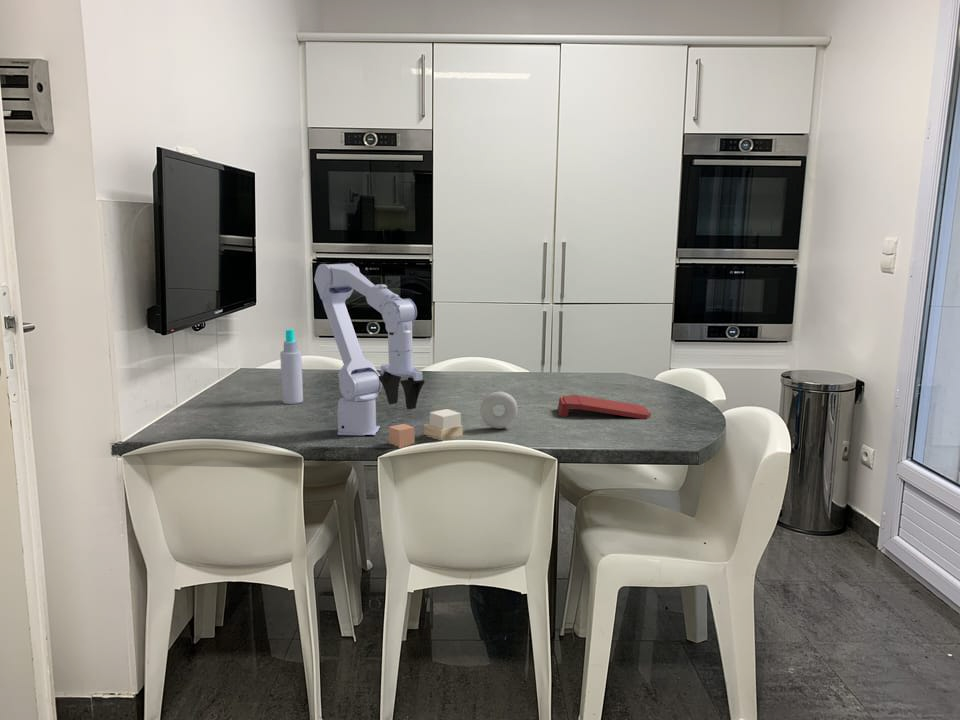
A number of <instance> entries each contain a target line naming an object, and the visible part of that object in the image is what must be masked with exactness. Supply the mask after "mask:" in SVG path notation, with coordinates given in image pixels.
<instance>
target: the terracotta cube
mask: <svg viewBox="0 0 960 720" xmlns="http://www.w3.org/2000/svg"><path fill="white" fill-rule="evenodd" d="M388 443H392V444H394V445H397V446H398V447H399V449H401V447H402V448H405V447H404V446H406V447H408V446H407V445H410V444H413V443H415V427H414V426H411V425H408V424H406V423H401V424H397V425H391V426H388ZM410 446H411V445H410ZM398 447H397V448H398Z"/></svg>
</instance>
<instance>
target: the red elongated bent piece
mask: <svg viewBox="0 0 960 720" xmlns="http://www.w3.org/2000/svg"><path fill="white" fill-rule="evenodd" d="M570 409H573V410H575V409H576V410H582V411H589V412H597V413H604V414H608V415H609V414H610V415H617V416H621V417H628V418H634V419H642V420H647V419H649V418H651V414H652V413H651V412H650V411H649V410H648V408H647V407H645V406H644V405H640V404H635V403H628V402H625V401H624V402H623V401H618V400H617V401H616V400H610V399H603V398H597V397H592V396H584V395H578V394H573V395H563V396H562V397H561V396H560V397H559V399H558V405H557V412H558V414H559V416H560V417H568V416H569V411H570Z"/></svg>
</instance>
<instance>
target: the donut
mask: <svg viewBox="0 0 960 720" xmlns="http://www.w3.org/2000/svg"><path fill="white" fill-rule="evenodd" d="M497 405H502V406H503V408H504V412H503V413H502V414H501V415H495V413H494V411H493V410H494V407H495V406H497ZM479 408H480V409H479V414H480V418H481V419H482V421H483V422H484V423H485V424H486V425H487V426H488V427H490V428H492V429H498V430H500V429H504V428H507V427H509V426H511V425H512V423H514V421H515V420H516V418H517V415H518V411H519V408H518V404H517V401H516V399H515V398H514V397H513V396H512V395H511V394H510V393H507V392H505V391H494V392H491V393H489V394H488V395H486V396H485V397H484V398H483V400H482V402H481V404H480V407H479Z"/></svg>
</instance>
